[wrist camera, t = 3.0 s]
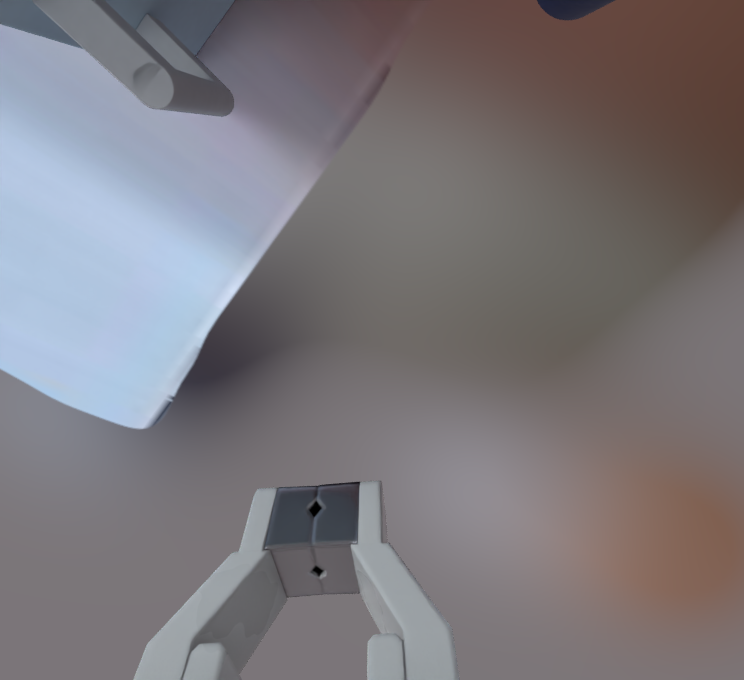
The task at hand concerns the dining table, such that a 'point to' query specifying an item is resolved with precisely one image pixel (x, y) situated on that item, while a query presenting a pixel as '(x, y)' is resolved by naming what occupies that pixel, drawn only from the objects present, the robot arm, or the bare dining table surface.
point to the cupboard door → (137, 44)
